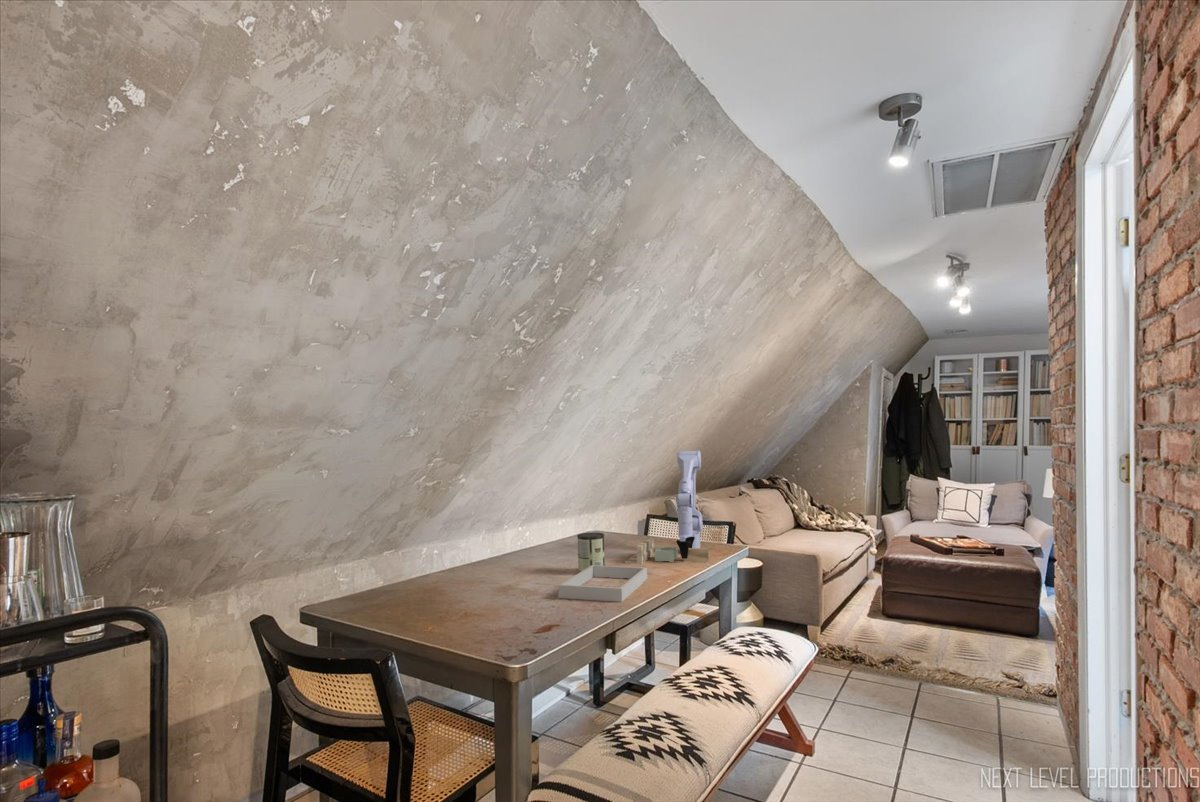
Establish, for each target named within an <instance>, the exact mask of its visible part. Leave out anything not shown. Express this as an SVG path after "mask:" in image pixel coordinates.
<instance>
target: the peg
mask: <svg viewBox="0 0 1200 802" xmlns="http://www.w3.org/2000/svg"><path fill="white" fill-rule="evenodd" d="M709 560H710V548H704V547H703V548H701V547H700V548H689V550H688V557H687V559H684V558H683V562H684V561H694V562H693V563H710V561H709Z"/></svg>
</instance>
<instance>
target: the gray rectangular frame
mask: <svg viewBox="0 0 1200 802" xmlns="http://www.w3.org/2000/svg"><path fill="white" fill-rule="evenodd" d="M592 577H593V578H604V577H609V578H608V579H610V578H611V579H623V578H628V580H627V581H626V582H625V583H623V584H622V585H621V586H620V587H609V586H607V587H606V586H592V585H591V586H590V585H584V584H586V583H587V582H588V581H590V580H591V579H593V578H592ZM589 579H590V580H589ZM646 579H647V580H648V567H640V566H639V567H638V566H616V565H605V566H598V565H591V566H589V567H588V568H586V569H584V570H583V571H581V572H580V573H577V574H575V575H573V576H571V577H569V578H568V579H566V580H565V581H563V582H562V583H560V584H558V598H559V599H568V600H569V599H571V600H583V601H584V600H585V601H587V600H588V601H600V602H601V601H602V602H617V603H622V602H624V601H625V600H626V599H627V598H628V597H629V596H630V595H631V594H632V593H634V592H635V591H636V590H637V589H638V588H639V587H640V586H641V585H642V584H644V583H645V582H646V581H647V580H646ZM645 580H646V581H645ZM586 581H587V582H586ZM644 581H645V582H644ZM643 582H644V583H643Z"/></svg>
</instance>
